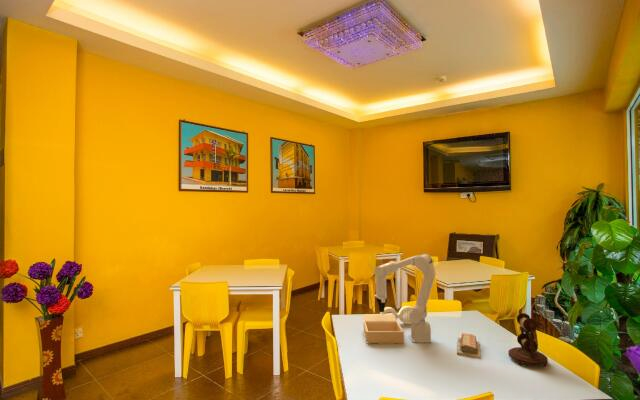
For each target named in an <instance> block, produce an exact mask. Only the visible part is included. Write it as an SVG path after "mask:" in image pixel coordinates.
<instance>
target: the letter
mask: <svg viewBox="0 0 640 400" xmlns="http://www.w3.org/2000/svg"><path fill="white" fill-rule="evenodd" d="M413 308H414V307H412V306H410V305H404V306H402V307H401V308H400V309H399V310H398V312H397V311H396V310H395V308H393V307H390V306H385V308H384V312H380V311H379V314H388V313H391V314H394V316H395V318H396V322H398V319H399V321H400V322H401V323H403V324H404V325H411V321H410V319H409V314H410V313H411V312H412V310H413Z"/></svg>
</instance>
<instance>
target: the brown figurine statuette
mask: <svg viewBox="0 0 640 400" xmlns="http://www.w3.org/2000/svg"><path fill="white" fill-rule="evenodd" d="M516 322H517V323H518V324H519V325H520V326H519V330H520V334H518V335H517V337H516V341H517V343H518V344H519V345H520V347H519V346H518V347H517V346H516V347H512V348H509V349H508V356H509V357H510V359H513V360H514V361H516V362H518V364H519V366H522V364H525V365H530V366H543V365H544V366H545V367H546V366H547V364H548V361H549V360H548V357H547V356H546V355H545V354H544V353H542V352H541V351H538V348H539V343H538V342H539V341H538V333H537V328H538V322H537V321H536V319H534V318H531V317H530V315H529V314H527V313H525V312H524V313H523V312H521V313H519V314H518V315H517V316H516ZM544 366H543V367H544Z"/></svg>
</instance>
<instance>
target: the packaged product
mask: <svg viewBox="0 0 640 400" xmlns="http://www.w3.org/2000/svg"><path fill="white" fill-rule="evenodd" d="M456 344H457V345H456V355H459V356H465V357H469V358H470V357H471V358H477V359H480V358H481V352H480V351H481V350H480V341H477V336H476V335H475V334H472V333H463V332H462V334H461V338H460V337H458V338H457V343H456Z"/></svg>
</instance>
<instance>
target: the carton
mask: <svg viewBox="0 0 640 400" xmlns="http://www.w3.org/2000/svg"><path fill="white" fill-rule="evenodd" d="M404 332H405V331H404V330H403V328H402V326H401V325H400V323H399V321H396V322H365V321H363V334H365V335H364V338H366V339H365V341H366V342H368V343H394V344H396V345H397V344H399V345H400V344H402V345H403V344H404V342H405V340H404V339H405V338H404V337H405V336H404V335H405V334H404Z"/></svg>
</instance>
